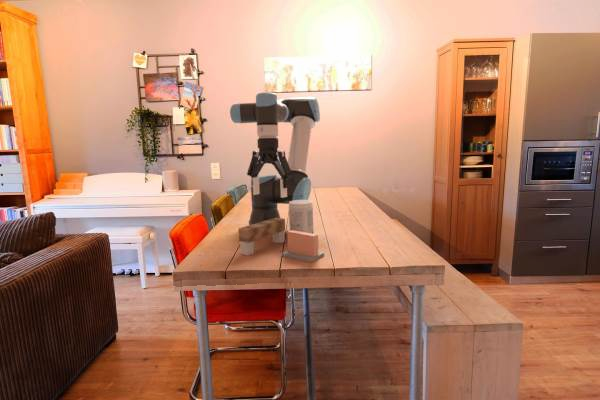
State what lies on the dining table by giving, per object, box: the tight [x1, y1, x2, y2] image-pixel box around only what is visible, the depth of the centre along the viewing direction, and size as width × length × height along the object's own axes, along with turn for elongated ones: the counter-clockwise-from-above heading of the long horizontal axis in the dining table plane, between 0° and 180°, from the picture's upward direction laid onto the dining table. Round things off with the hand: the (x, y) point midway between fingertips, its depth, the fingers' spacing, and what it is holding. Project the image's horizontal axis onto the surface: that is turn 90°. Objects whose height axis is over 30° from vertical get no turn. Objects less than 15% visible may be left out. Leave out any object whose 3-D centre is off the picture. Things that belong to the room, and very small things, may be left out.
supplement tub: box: [288, 199, 315, 234], centre depth 143 cm, size 10×10×15 cm
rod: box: [238, 217, 286, 243], centre depth 131 cm, size 20×4×4 cm, turn 143°
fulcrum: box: [281, 230, 325, 264], centre depth 121 cm, size 12×8×8 cm, turn 53°
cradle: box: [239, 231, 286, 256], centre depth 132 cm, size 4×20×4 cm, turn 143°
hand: (269, 195), depth 132 cm, fingers open, 13 cm apart
